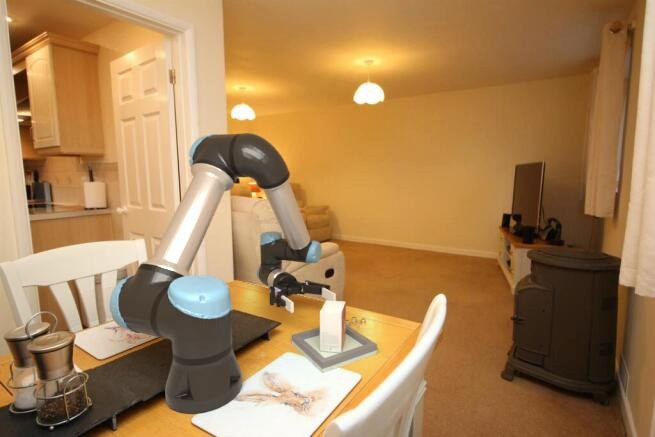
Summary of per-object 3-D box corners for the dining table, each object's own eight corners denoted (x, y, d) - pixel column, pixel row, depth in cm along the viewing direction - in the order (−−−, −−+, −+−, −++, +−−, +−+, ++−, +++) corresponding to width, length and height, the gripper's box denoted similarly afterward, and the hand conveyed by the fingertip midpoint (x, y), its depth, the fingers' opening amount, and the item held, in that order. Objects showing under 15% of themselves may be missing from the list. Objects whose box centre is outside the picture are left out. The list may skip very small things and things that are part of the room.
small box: (341, 353, 84) (341, 313, 83) (319, 351, 85) (319, 311, 84) (346, 338, 92) (346, 301, 91) (325, 336, 93) (325, 299, 92)
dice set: (343, 327, 103) (343, 321, 102) (352, 321, 107) (352, 315, 107) (358, 331, 100) (358, 325, 100) (366, 325, 104) (366, 319, 104)
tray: (322, 373, 78) (322, 362, 78) (291, 343, 91) (291, 334, 91) (376, 353, 86) (377, 344, 86) (341, 329, 100) (341, 321, 99)
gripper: (315, 287, 121) (350, 307, 103) (246, 300, 108) (273, 325, 90) (315, 266, 120) (350, 282, 102) (246, 277, 107) (272, 298, 89)
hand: (314, 302), depth 96 cm, fingers open, 13 cm apart
